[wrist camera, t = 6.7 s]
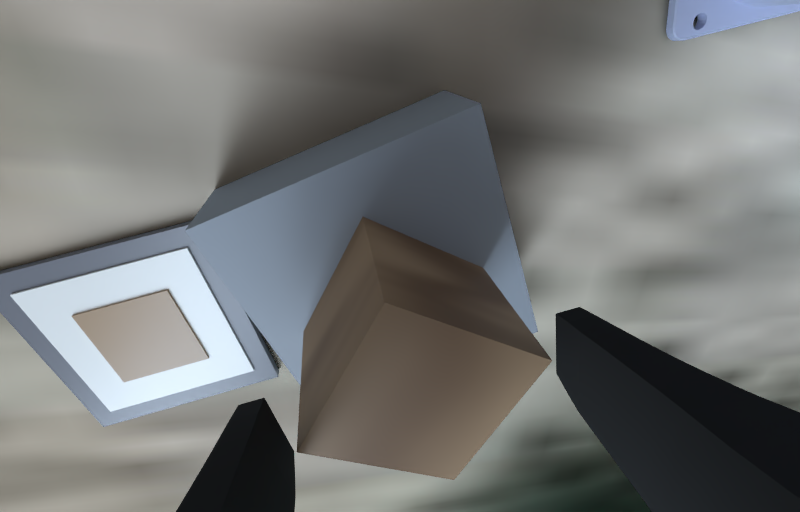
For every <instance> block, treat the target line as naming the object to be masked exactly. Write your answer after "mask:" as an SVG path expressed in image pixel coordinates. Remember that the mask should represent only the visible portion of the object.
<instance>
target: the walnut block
mask: <svg viewBox="0 0 800 512" xmlns="http://www.w3.org/2000/svg"><path fill="white" fill-rule="evenodd" d="M551 361H552V360H551V358H550V357H549V356H548V354H547V353H546V352H545V350H544V349H543V348H542V346H541V345H540V344H539V342H538V341H537V340H536V338H535V337H534V335H533V334H532V333H531V331H530V330H529V329H528V327H527V326H526V325H525V323H524V322H523V321H522V319H521V318H520V317H519V315H518V314H517V313H516V311H515V310H514V309H513V307H512V306H511V304H510V303H509V302H508V300H507V299H506V298H505V296H504V295H503V294H502V292H501V291H500V290H499V288H498V287H497V286H496V284H495V283H494V282H493V280H492V279H491V277H490V276H489V275H488V273H487V272H486V271H485V269H484V268H482V267H480V266H478V265H475V264H473V263H471V262H468V261H466V260H464V259H461V258H459V257H457V256H454V255H452V254H449V253H447V252H445V251H442V250H440V249H438V248H435V247H433V246H431V245H428V244H426V243H424V242H421V241H419V240H417V239H414V238H412V237H410V236H407V235H405V234H403V233H400V232H398V231H396V230H393V229H391V228H389V227H386V226H384V225H381V224H379V223H377V222H374V221H372V220H370V219H367V218H365V217H362V219H361V221H360V223H359V225H358V227H357V228H356V230H355V232H354V234H353V236H352V238H351V240H350V242H349V244H348V246H347V248H346V250H345V252H344V254H343V256H342V258H341V260H340V262H339V263H338V265H337V267H336V269H335V271H334V273H333V275H332V277H331V279H330V281H329V283H328V285H327V287H326V289H325V291H324V293H323V295H322V296H321V298H320V300H319V302H318V304H317V306H316V308H315V310H314V312H313V314H312V316H311V318H310V320H309V322H308V324H307V326H306V328H305V330H304V331H303V349H302V368H301V386H300V404H299V423H298V441H297V452H298V453H304V454H310V455H316V456H321V457H327V458H333V459H338V460H344V461H350V462H355V463H361V464H367V465H372V466H378V467H384V468H389V469H395V470H401V471H406V472H412V473H418V474H424V475H429V476H435V477H441V478H446V479H452V480H454V479H455V478H456V477H457V476H458V475H459V473H460V472H461V471H462V470H463V468H464V467H465V466H466V465H467V464H468V462H469V461H470V460H471V459H472V458H473V456H474V455H475V454H476V453H477V451H478V450H479V449H480V448H481V447H482V445H483V444H484V443H485V442H486V440H487V439H488V438H489V437H490V436H491V434H492V433H493V432H494V431H495V430H496V428H497V427H498V426H499V425H500V423H501V422H502V421H503V420H504V419H505V417H506V416H507V415H508V414H509V413H510V411H511V410H512V409H513V408H514V406H515V405H516V404H517V403H518V402H519V400H520V399H521V398H522V397H523V395H524V394H525V393H526V392H527V391H528V389H529V388H530V387H531V386H532V385H533V383H534V382H535V381H536V380H537V378H538V377H539V376H540V375H541V374H542V372H543V371H544V370H545V369H546V368H547V366H548V365H549V364H550V363H551Z"/></svg>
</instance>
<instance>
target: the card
mask: <svg viewBox="0 0 800 512" xmlns="http://www.w3.org/2000/svg"><path fill="white" fill-rule="evenodd" d="M191 222H192V221H189V222H185V223H181V224H177V225H173V226H170V227H166V228H162V229H158V230H154V231H151V232H147V233H143V234H139V235H135V236H131V237H128V238H124V239H120V240H116V241H112V242H108V243H105V244H101V245H97V246H93V247H89V248H86V249H82V250H78V251H74V252H70V253H66V254H63V255H59V256H55V257H51V258H47V259H44V260H40V261H36V262H32V263H28V264H24V265H21V266H17V267H13V268H9V269H5V270H1V271H0V313H1V314H2V315H3V316H4V317H5V318H6V319H7V320H8V321H9V323H10V324H11V325H12V326H13V327H14V328H15V329H16V330H17V331H18V333H19V334H20V335H21V336H22V337H23V338H24V339H25V340H26V341H27V343H28V344H29V345H30V346H31V347H32V348H33V349H34V350H35V351H36V353H37V354H38V355H39V356H40V357H41V358H42V359H43V360H44V361H45V362H46V364H47V365H48V366H49V367H50V368H51V369H52V370H53V371H54V372H55V374H56V375H57V376H58V377H59V378H60V379H61V380H62V381H63V382H64V384H65V385H66V386H67V387H68V388H69V389H70V390H71V391H72V392H73V394H74V395H75V396H76V397H77V398H78V399H79V400H80V401H81V402H82V404H83V405H84V406H85V407H86V408H87V409H88V410H89V411H90V412H91V414H92V415H93V416H94V417H95V418H96V419H97V420H98V421H99V422H100V424H101V425H102V426H103V427H105V426H108V425H112V424H115V423H119V422H122V421H126V420H129V419H133V418H136V417H140V416H143V415H147V414H150V413H153V412H157V411H160V410H164V409H167V408H171V407H174V406H178V405H181V404H185V403H188V402H192V401H195V400H199V399H202V398H206V397H209V396H213V395H216V394H220V393H223V392H227V391H230V390H233V389H237V388H240V387H244V386H247V385H251V384H254V383H258V382H261V381H265V380H268V379H272V378H275V377H278V374H279V370H278V368H277V366H276V364H275V362H274V360H273V358H272V356H271V354H270V352H269V350H268V348H267V346H266V344H265V342H264V340H263V338H262V336H261V334H260V332H259V330H258V328H257V327H256V325H255V324H254V323H253V321H252V320H251V319H250V317H249V316H248V315H247V313H246V312H245V310H244V309H243V308H242V306H241V305H240V304H239V302H238V301H237V300H236V298H235V297H234V296H233V294H232V293H231V292H230V290H229V289H228V288H227V286H226V285H225V284H224V282H223V281H222V280H221V278H220V277H219V276H218V274H217V273H216V272H215V270H214V269H213V268H212V266H211V265H210V264H209V262H208V261H207V260H206V258H205V257H204V256H203V254H202V253H201V252H200V250H199V249H198V247H197V246H196V245H195V243H194V242H193V241H192V239H191V238H190V237H189V235H188V234H187V233H186V231H185V230H186V228H187V227H188V226H189V224H190V223H191Z"/></svg>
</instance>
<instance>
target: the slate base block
mask: <svg viewBox="0 0 800 512" xmlns="http://www.w3.org/2000/svg"><path fill="white" fill-rule="evenodd" d="M362 217H365V218H367V219H370V220H372V221H374V222H377V223H379V224H381V225H384V226H386V227H389V228H391V229H393V230H396V231H398V232H400V233H403V234H405V235H407V236H410V237H412V238H414V239H417V240H419V241H421V242H424V243H426V244H428V245H431V246H433V247H435V248H438V249H440V250H442V251H445V252H447V253H449V254H452V255H454V256H457V257H459V258H461V259H464V260H466V261H468V262H471V263H473V264H475V265H478V266H480V267H482V268H484V269H485V271H486V272H487V273H488V275H489V276H490V277H491V279H492V280H493V282H494V283H495V284H496V286H497V287H498V288H499V290H500V291H501V292H502V294H503V295H504V296H505V298H506V299H507V300H508V302H509V303H510V304H511V306H512V307H513V309H514V310H515V311H516V313H517V314H518V315H519V317H520V318H521V319H522V321H523V322H524V323H525V325H526V326H527V327H528V329H529V330H530V331H531V333H532V334H533V333H535V332H538V330H537V326H536V322H535V318H534V314H533V310H532V306H531V302H530V298H529V294H528V290H527V286H526V282H525V278H524V274H523V270H522V266H521V262H520V258H519V254H518V250H517V246H516V242H515V238H514V234H513V230H512V226H511V222H510V218H509V214H508V210H507V206H506V202H505V198H504V194H503V190H502V186H501V182H500V178H499V174H498V170H497V166H496V162H495V158H494V154H493V150H492V146H491V142H490V138H489V134H488V130H487V126H486V122H485V118H484V114H483V110H482V106H481V103H479V102H476V101H473V100H470V99H467V98H465V97H462V96H459V95H456V94H454V93H451V92H448V91H445V90H444V91H442V92H439V93H437V94H435V95H432V96H430V97H428V98H425V99H423V100H421V101H418V102H416V103H414V104H411V105H409V106H407V107H405V108H402V109H400V110H398V111H395V112H393V113H391V114H388V115H386V116H384V117H381V118H379V119H377V120H374V121H372V122H370V123H368V124H365V125H363V126H361V127H358V128H356V129H354V130H351V131H349V132H347V133H344V134H342V135H340V136H337V137H335V138H333V139H331V140H328V141H326V142H324V143H321V144H319V145H317V146H314V147H312V148H310V149H307V150H305V151H303V152H300V153H298V154H296V155H294V156H291V157H289V158H287V159H284V160H282V161H280V162H277V163H275V164H273V165H270V166H268V167H266V168H263V169H261V170H259V171H257V172H254V173H252V174H250V175H247V176H245V177H243V178H240V179H238V180H236V181H233V182H231V183H229V184H226V185H224V186H222V187H220V188H217V189H215V190H214V191H213V193H212V194H211V195H210V197H209V198H208V199H207V201H206V202H205V204H204V205H203V206H202V208H201V209H200V211H199V212H198V213H197V215H196V216H195V217H194V219H193V220H192V222H191V223H190V224H189V226H188V227H187V228H186V230H185V231H186V233H187V234H188V235H189V237H190V238H191V239H192V241H193V242H194V243H195V245H196V246H197V247H198V249H199V250H200V252H201V253H202V254H203V256H204V257H205V258H206V260H207V261H208V262H209V264H210V265H211V266H212V268H213V269H214V270H215V272H216V273H217V274H218V276H219V277H220V278H221V280H222V281H223V282H224V284H225V285H226V286H227V288H228V289H229V290H230V292H231V293H232V294H233V296H234V297H235V298H236V300H237V301H238V302H239V304H240V305H241V306H242V308H243V309H244V310H245V312H246V313H247V315H248V316H249V317H250V319H251V320H252V321H253V323H254V324H255V325H256V327H257V328H258V329H259V331H260V332H261V333H262V335H263V336H264V337H265V339H266V340H267V341H268V343H269V344H270V345H271V347H272V348H273V349H274V351H275V352H276V353H277V355H278V356H279V357H280V359H281V360H282V361H283V363H284V364H285V365H286V367H287V368H288V369H289V371H290V372H291V373H292V375H293V376H294V378H295V379H296V380H297V382H298V383H299V384H300V386H301V368H302V349H303V331H304V330H305V328H306V326H307V324H308V322H309V320H310V318H311V316H312V314H313V312H314V310H315V308H316V306H317V304H318V302H319V300H320V298H321V296H322V295H323V293H324V291H325V289H326V287H327V285H328V283H329V281H330V279H331V277H332V275H333V273H334V271H335V269H336V267H337V265H338V263H339V262H340V260H341V258H342V256H343V254H344V252H345V250H346V248H347V246H348V244H349V242H350V240H351V238H352V236H353V234H354V232H355V230H356V228H357V227H358V225H359V223H360V221H361V219H362Z"/></svg>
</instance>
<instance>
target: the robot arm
mask: <svg viewBox="0 0 800 512" xmlns="http://www.w3.org/2000/svg"><path fill="white" fill-rule="evenodd" d="M798 11H800V0H669V8H668V17H667V26H666V32H667V36H668V38H669V39H671V40H672V41H679V40H687V39H691V38H695V37H699V36H703V35H707V34H711V33H715V32H719V31H723V30H727V29H731V28H735V27H739V26H743V25H747V24H751V23H754V22H758V21H762V20H766V19H770V18H774V17H778V16H782V15H786V14H790V13H794V12H798ZM696 16H697V18H698V21H697V24H696V25H695V27H693V22H694V19H695V17H696ZM556 371H557V375H558V377H559V379H560V380H561V382H562V384H563V386H564V388H565V389H566V391H567V393H568V395H569V396H570V398H571V400H572V401H573V403H574V405H575V407H576V408H577V410H578V412H579V413H580V414H581V416H582V417H583V418H584V420H585V421H586V423H587V424H588V425H589V427H590V428H591V429H592V431H593V432H594V434H595V435H596V436H597V438H598V439H599V440H600V442H601V443H602V444H603V446H604V447H605V449H606V450H607V451H608V453H609V454H610V455H611V457H612V458H613V459H614V461H615V462H616V463H617V465H618V466H619V467H620V469H621V470H622V471H623V473H624V474H625V475H626V477H627V478H628V480H629V481H630V482H631V484H632V485H633V486H634V488H635V489H636V490H637V492H638V493H639V494H640V496H641V497H642V498H643V500H644V501H645V503H646V504H647V506H648V507H649V509H650V510H651V511H652V512H800V413H799V412H797V411H794V410H792V409H789V408H787V407H784V406H782V405H779V404H777V403H774V402H772V401H769V400H767V399H764V398H762V397H759V396H757V395H755V394H752V393H750V392H748V391H745V390H743V389H741V388H739V387H736V386H734V385H732V384H730V383H728V382H725V381H723V380H721V379H719V378H717V377H715V376H712V375H710V374H708V373H706V372H704V371H702V370H699V369H697V368H695V367H693V366H691V365H689V364H687V363H685V362H683V361H681V360H679V359H677V358H675V357H673V356H671V355H669V354H667V353H665V352H663V351H661V350H659V349H657V348H655V347H653V346H651V345H650V344H648V343H646V342H644V341H642V340H640V339H638V338H636V337H634V336H633V335H631V334H629V333H627V332H625V331H623V330H621V329H620V328H618V327H616V326H614V325H612V324H610V323H609V322H607V321H605V320H603V319H601V318H599V317H597V316H596V315H594V314H592V313H590V312H588V311H586V310H584V309H582V308H580V307H578V308H574V309H571V310H567V311H564V312H560V313H557V314H556ZM294 509H295V465H294V450H293V449H292V447H291V445H290V443H289V441H288V440H287V438H286V436H285V434H284V432H283V431H282V429H281V427H280V425H279V423H278V422H277V420H276V418H275V416H274V414H273V413H272V411H271V409H270V407H269V405H268V404H267V402H266V400H265V398H262V399H258V400H255V401H251V402H248V403H244V404H241V405H238V407H237V409H236V410H235V412H234V414H233V415H232V417H231V419H230V420H229V422H228V424H227V426H226V427H225V429H224V431H223V433H222V434H221V436H220V438H219V440H218V441H217V443H216V445H215V447H214V448H213V450H212V452H211V454H210V455H209V457H208V459H207V460H206V462H205V464H204V466H203V467H202V469H201V471H200V472H199V474H198V476H197V477H196V479H195V481H194V482H193V484H192V486H191V488H190V489H189V491H188V493H187V494H186V496H185V498H184V499H183V501H182V503H181V504H180V506H179V507H178V509H177V511H176V512H294Z"/></svg>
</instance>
